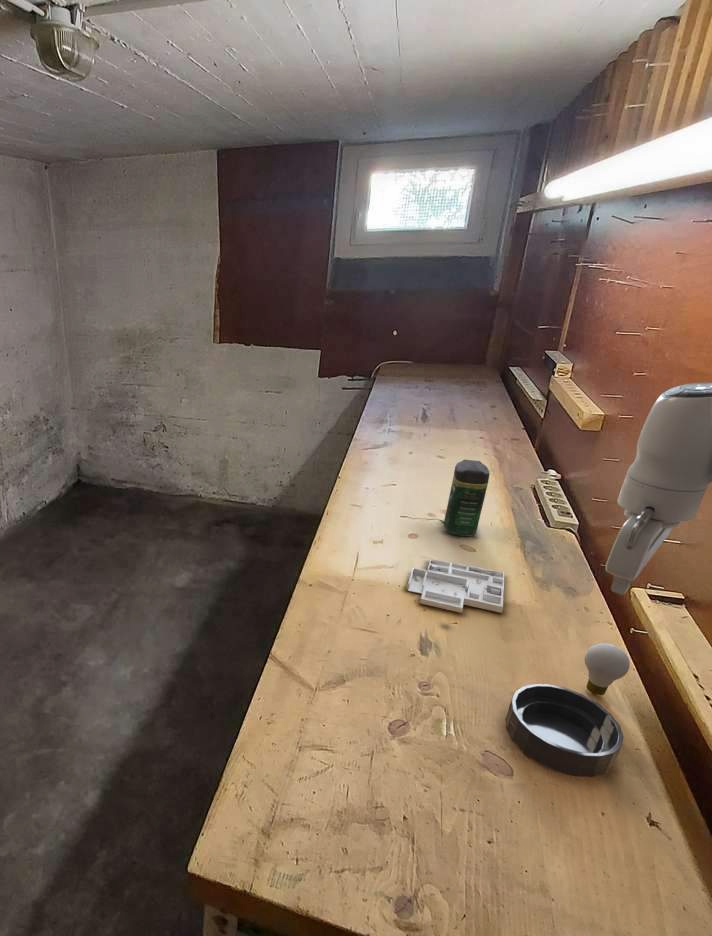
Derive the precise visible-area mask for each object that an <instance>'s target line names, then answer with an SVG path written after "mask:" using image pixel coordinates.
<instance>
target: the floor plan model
mask: <svg viewBox="0 0 712 936" xmlns="http://www.w3.org/2000/svg"><path fill="white" fill-rule="evenodd" d="M406 591H409V592H413V593H418V594H421V596H420V602H419V603H420V604H421V605H425V606H430V607H434V608H438V609H443V610H447V611H452V612H456V613H460V614H462V613H463V610H464V609H463V608H464V605H465V606H470V607H473V608H477V609H482V610H487V611H492V612H496V613H500V614H502V613H503V610H504V592H505V571H504V572H503V571H498V570H493V569H488V568H483V567H479V566H478V567H477V566H475V565H474V566H473V565H469V564H459V563H454V562H450V561H446V560H445V561H444V560H439V559H435V558H430V559H429V563H428V568H427V569H423V568H419V567H418V568H417V567H412V569H411V571H410V575H409V579H408V582H407V588H406Z"/></svg>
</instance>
